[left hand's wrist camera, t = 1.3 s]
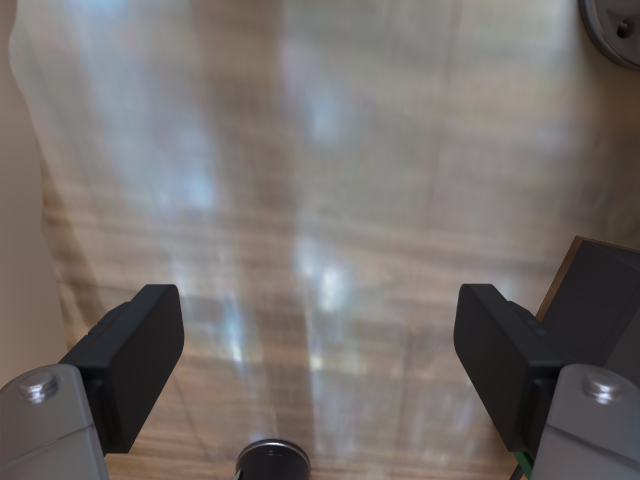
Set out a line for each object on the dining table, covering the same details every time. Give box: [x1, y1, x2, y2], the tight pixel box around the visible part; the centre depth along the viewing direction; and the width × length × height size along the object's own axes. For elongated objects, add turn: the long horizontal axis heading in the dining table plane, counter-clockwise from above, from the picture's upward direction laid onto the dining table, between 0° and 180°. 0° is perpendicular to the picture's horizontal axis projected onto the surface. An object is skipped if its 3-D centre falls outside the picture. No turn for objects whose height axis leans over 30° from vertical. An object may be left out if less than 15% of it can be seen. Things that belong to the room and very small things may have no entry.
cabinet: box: [529, 236, 640, 463], centre depth 38 cm, size 21×11×10 cm, turn 167°
